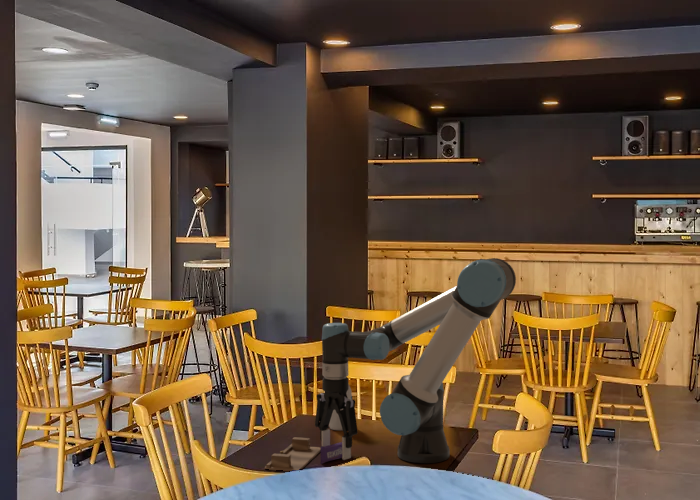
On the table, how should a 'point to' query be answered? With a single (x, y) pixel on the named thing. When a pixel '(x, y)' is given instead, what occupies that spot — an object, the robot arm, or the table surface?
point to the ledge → (294, 456)
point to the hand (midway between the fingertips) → (336, 455)
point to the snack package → (331, 452)
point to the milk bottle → (335, 420)
